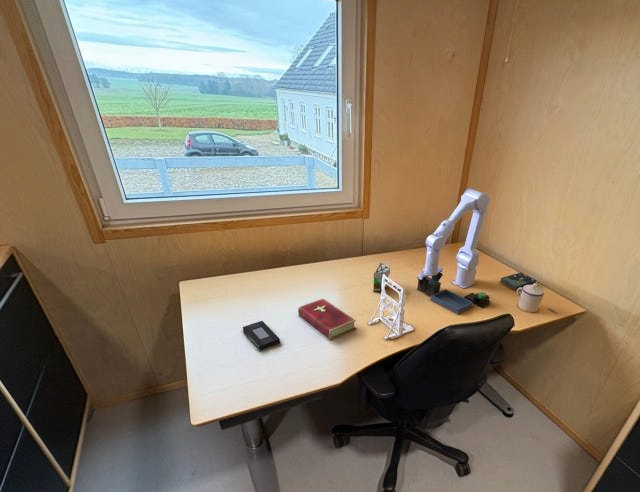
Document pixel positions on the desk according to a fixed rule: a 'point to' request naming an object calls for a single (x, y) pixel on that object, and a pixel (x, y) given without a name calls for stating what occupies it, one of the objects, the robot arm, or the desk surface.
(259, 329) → the vhs tape
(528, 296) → the teacup with lid
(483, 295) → the button
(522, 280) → the disk drive
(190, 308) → the desk surface
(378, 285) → the food container
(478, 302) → the panel
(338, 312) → the hardcover book
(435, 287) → the dark grey block
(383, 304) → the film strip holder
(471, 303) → the open rectangular tray
